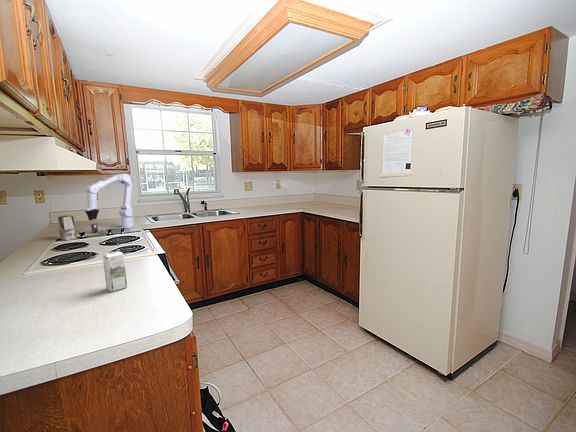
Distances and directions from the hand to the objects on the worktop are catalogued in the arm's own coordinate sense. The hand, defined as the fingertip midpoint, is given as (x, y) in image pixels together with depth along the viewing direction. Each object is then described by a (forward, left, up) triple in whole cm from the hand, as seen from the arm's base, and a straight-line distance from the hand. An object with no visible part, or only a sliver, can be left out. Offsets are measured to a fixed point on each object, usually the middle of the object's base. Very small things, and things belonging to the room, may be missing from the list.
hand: (92, 219), depth 217 cm
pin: (-2, -1, -11) cm, 11 cm away
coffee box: (+16, -9, -11) cm, 21 cm away
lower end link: (-2, +15, -10) cm, 19 cm away
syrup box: (+112, +68, -11) cm, 131 cm away
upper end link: (-2, +10, -10) cm, 15 cm away
